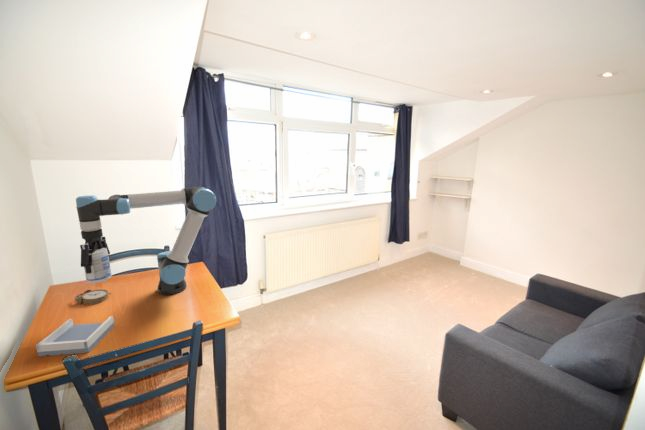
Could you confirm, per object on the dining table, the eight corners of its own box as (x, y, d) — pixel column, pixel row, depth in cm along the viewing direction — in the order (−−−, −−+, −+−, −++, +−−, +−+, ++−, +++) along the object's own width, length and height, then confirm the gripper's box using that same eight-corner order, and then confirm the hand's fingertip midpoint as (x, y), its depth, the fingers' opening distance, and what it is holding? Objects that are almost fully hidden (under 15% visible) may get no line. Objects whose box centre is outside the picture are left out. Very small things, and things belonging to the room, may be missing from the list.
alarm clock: (101, 299, 148) (68, 296, 144) (101, 307, 149) (68, 305, 145) (113, 289, 159) (82, 286, 155) (112, 297, 159) (82, 295, 156)
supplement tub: (110, 281, 132) (106, 251, 129) (85, 285, 127) (79, 255, 124) (112, 273, 140) (108, 246, 137) (88, 277, 135) (83, 249, 132)
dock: (114, 325, 130) (113, 316, 129) (89, 352, 112) (86, 341, 111) (71, 328, 127) (69, 318, 126) (38, 356, 110) (35, 345, 109)
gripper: (98, 223, 139) (104, 265, 144) (63, 236, 117) (72, 285, 122) (114, 223, 140) (120, 265, 145) (83, 235, 118) (91, 284, 123)
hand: (98, 274), depth 133 cm, fingers closed on supplement tub, 10 cm apart
